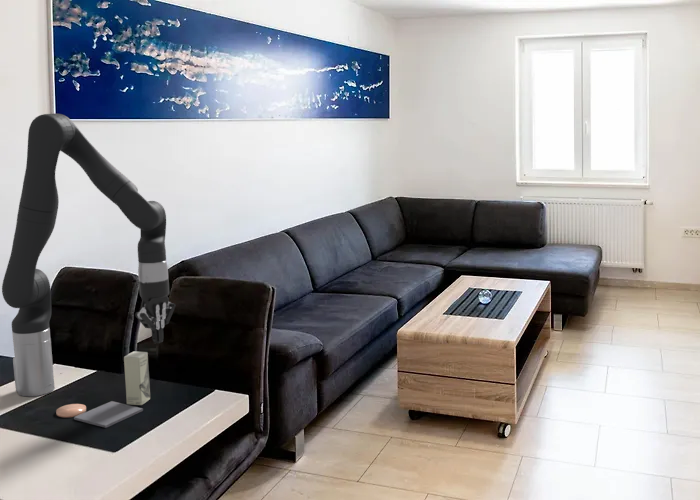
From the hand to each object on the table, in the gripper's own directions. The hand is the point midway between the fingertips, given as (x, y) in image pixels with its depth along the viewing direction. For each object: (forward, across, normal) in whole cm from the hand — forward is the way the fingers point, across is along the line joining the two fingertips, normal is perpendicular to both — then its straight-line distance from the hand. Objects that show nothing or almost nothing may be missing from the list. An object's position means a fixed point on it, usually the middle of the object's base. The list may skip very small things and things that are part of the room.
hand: (158, 342), depth 198 cm
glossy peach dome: (+14, +21, -10) cm, 27 cm away
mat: (+14, +18, 0) cm, 23 cm away
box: (+14, +8, 0) cm, 16 cm away
